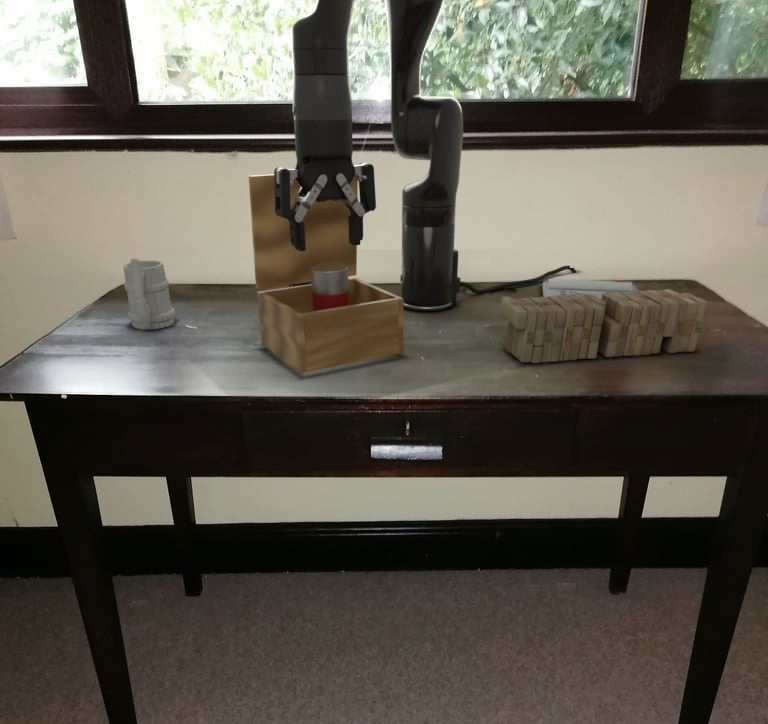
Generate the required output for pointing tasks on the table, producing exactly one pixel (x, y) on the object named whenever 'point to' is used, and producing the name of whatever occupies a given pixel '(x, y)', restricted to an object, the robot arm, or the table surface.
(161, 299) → the mug
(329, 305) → the can
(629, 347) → the block tower
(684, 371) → the table surface
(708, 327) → the table surface
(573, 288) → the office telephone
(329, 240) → the lid
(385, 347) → the chest
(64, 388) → the table surface
